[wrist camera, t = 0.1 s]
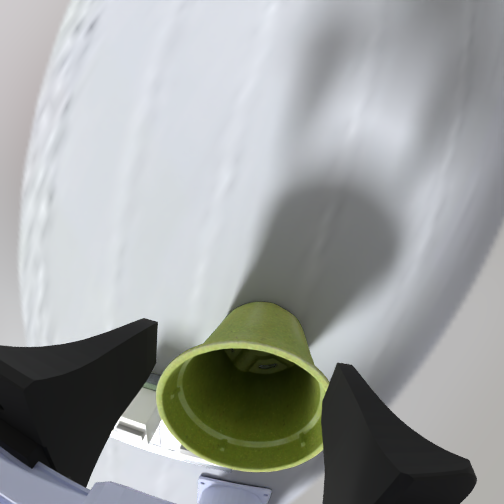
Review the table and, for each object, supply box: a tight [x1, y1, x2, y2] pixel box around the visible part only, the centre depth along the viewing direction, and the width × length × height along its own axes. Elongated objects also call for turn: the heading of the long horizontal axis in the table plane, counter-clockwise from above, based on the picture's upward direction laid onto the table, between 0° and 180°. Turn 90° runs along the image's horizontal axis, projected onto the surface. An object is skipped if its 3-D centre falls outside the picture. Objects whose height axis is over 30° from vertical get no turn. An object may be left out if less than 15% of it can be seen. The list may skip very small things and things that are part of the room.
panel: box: [110, 373, 232, 472], centre depth 25 cm, size 10×15×2 cm, turn 82°
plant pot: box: [156, 302, 330, 472], centre depth 18 cm, size 9×9×9 cm
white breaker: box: [116, 387, 162, 446], centre depth 22 cm, size 3×3×4 cm
